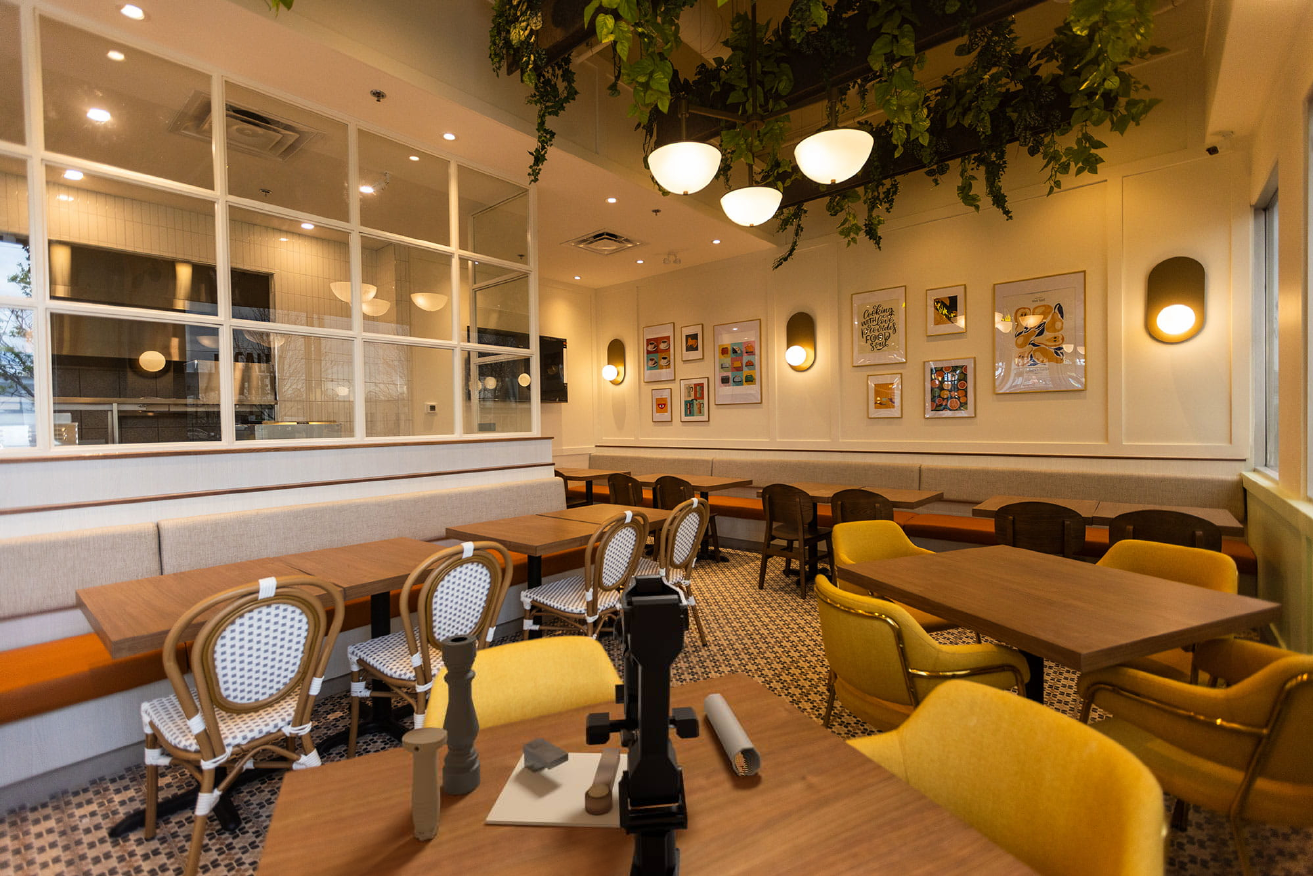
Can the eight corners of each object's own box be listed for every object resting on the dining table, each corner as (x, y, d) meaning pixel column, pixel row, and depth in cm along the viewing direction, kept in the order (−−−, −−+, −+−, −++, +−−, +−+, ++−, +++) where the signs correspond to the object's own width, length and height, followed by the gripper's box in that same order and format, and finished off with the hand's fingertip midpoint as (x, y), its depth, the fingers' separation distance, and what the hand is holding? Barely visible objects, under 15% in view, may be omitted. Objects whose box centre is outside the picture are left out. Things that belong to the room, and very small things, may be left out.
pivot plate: (626, 827, 89) (626, 806, 89) (485, 823, 91) (485, 802, 91) (640, 756, 109) (640, 739, 109) (524, 754, 111) (524, 736, 111)
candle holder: (434, 789, 100) (432, 642, 100) (462, 771, 106) (459, 631, 106) (461, 799, 97) (458, 648, 97) (488, 779, 103) (485, 636, 103)
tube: (697, 694, 127) (728, 754, 102) (719, 684, 128) (756, 741, 103) (705, 717, 127) (738, 782, 102) (727, 707, 128) (766, 769, 103)
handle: (439, 847, 86) (437, 744, 86) (397, 844, 86) (395, 742, 87) (454, 825, 90) (452, 728, 91) (415, 823, 91) (413, 726, 91)
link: (610, 815, 91) (610, 803, 91) (582, 815, 92) (582, 802, 92) (624, 759, 107) (623, 748, 107) (600, 758, 108) (600, 747, 108)
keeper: (568, 776, 102) (568, 753, 102) (549, 786, 99) (549, 762, 99) (540, 758, 108) (540, 736, 108) (521, 767, 105) (521, 745, 105)
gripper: (688, 662, 108) (690, 747, 108) (586, 668, 106) (588, 754, 106) (698, 687, 97) (700, 782, 97) (585, 694, 95) (586, 791, 95)
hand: (642, 775), depth 99 cm, fingers closed
